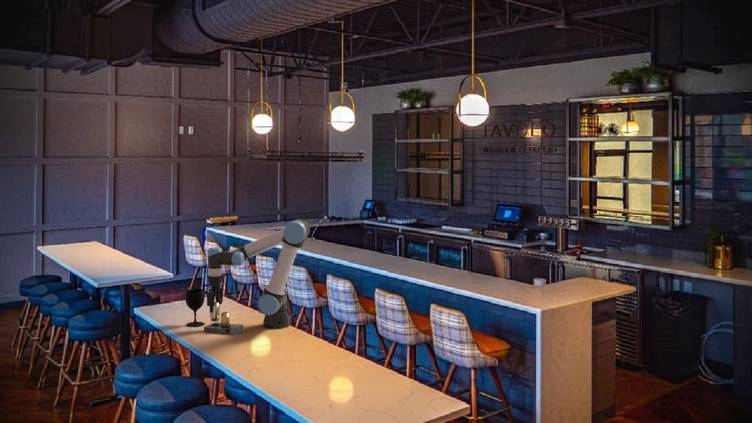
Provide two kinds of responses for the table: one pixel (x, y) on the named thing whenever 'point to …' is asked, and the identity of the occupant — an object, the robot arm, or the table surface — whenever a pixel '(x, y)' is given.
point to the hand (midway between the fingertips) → (215, 316)
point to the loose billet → (216, 312)
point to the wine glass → (194, 304)
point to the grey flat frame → (217, 328)
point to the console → (236, 329)
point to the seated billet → (225, 320)
